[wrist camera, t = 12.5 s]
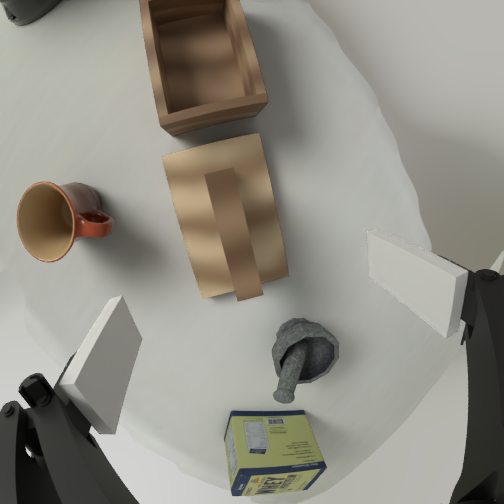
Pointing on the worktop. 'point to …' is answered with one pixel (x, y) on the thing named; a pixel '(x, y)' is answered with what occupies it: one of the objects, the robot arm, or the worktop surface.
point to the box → (201, 63)
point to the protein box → (271, 452)
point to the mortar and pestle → (302, 355)
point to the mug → (59, 218)
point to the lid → (227, 216)
